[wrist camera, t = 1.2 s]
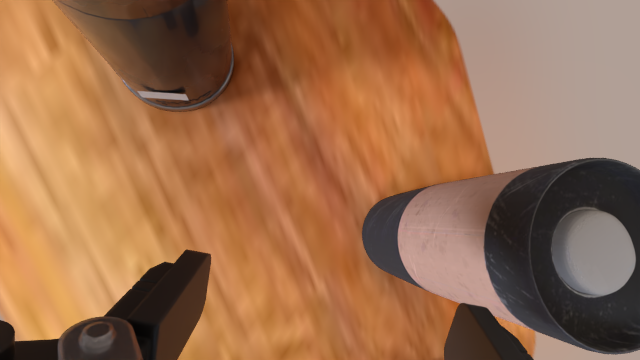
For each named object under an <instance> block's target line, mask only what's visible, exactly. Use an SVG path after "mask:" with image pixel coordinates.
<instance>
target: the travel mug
mask: <svg viewBox="0 0 640 360" xmlns="http://www.w3.org/2000/svg"><path fill="white" fill-rule="evenodd" d="M362 238H363V244H364V247H365V250H366V252H367V254H368V256H369V258H370V259H371V260H372V262H373V263H374V264H375V265H376V266H378V267H379V268H381V269H382V270H384V271H386V272H388V273H390V274H392V275H394V276H396V277H398V278H400V279H403V280H405V281H407V282H409V283H411V284H413V285H416V286H418V287H420V288H422V289H424V290H427V291H429V292H431V293H434V294H436V295H439V296H442V297H444V298H447V299H450V300H453V301H455V302H458V303H467V304H472V305H477V306H482V307H486V308H488V309H489V311H490V312H491V313H492V315H493V316H496V317H499V318H501V319H504V320H507V321H510V322H512V323H515V324H518V325H520V326H523V327H526V328H529V329H531V330H534V331H537V332H540V333H542V334H545V335H548V336H550V337H553V338H556V339H559V340H561V341H564V342H567V343H570V344H572V345H575V346H577V347H580V348H583V349H586V350H589V351H593V352H598V353H603V354H624V353H630V352H634V351H637V350H640V170H639V169H637V168H635V167H633V166H631V165H629V164H627V163H624V162H621V161H617V160H613V159H607V158H586V159H579V160H573V161H567V162H562V163H557V164H550V165H545V166H539V167H533V168H529V169H522V170H516V171H511V172H506V173H499V174H494V175H488V176H482V177H476V178H471V179H465V180H459V181H454V182H448V183H442V184H437V185H433V186H429V187H425V188H421V189H417V190H413V191H409V192H406V193H402V194H398V195H394V196H391V197H388V198H385V199H383V200H381V201H380V202H378V203H377V204H376V205H374V206H373V208H372V209H371V210H370V211H369V213H368V214H367V216H366V218H365V221H364V225H363V231H362Z"/></svg>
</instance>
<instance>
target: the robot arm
mask: <svg viewBox="0 0 640 360" xmlns="http://www.w3.org/2000/svg"><path fill="white" fill-rule="evenodd" d="M52 1H53V2H54V3H55V4H56V5H57V6H58V7H59V9H60V10H61V11H62V12H63V13H64V14H65V15H66V16H67V18H68V19H69V20H70V21H71V22H72V23H73V24H74V25H75V26H76V28H77V29H78V30H79V31H80V32H81V33H82V34H83V35H84V37H85V38H86V39H87V40H88V41H89V42H90V43H91V44H92V46H93V47H94V48H95V49H96V50H97V51H98V52H99V53H100V55H101V56H102V57H103V58H104V59H105V60H106V61H107V62H108V64H109V65H110V66H111V67H112V68H113V69H114V71H115V72H116V73H117V74H118V75H119V76H120V77H121V79H122V80H123V82H124V83H125V85H126V86H127V87H128V88H129V89H130V91H131V92H132V93H133V94H134V95H135V96H137V97H138V98H139V99H140V100H142V101H143V102H145V103H147V104H149V105H151V106H153V107H155V108H158V109H161V110H166V111H172V112H184V111H191V110H195V109H198V108H201V107H203V106H205V105H207V104H209V103H211V102H212V101H214V100H215V99H216V98H217V97H218V96H219V95H220V94H221V93H222V92H223V91H224V90H225V88H226V87H227V85H228V83H229V81H230V79H231V76H232V73H233V67H234V56H233V48H232V44H231V35H230V24H229V14H228V4H227V0H52ZM210 265H211V254H208V253H203V252H197V251H192V250H185V251H184V253H183V254H182V255H181V256H180V257H179V258H178V260H177V261H176V262H175V263H174V264H173V263H168V262H163V263H161V264H159V265H157V266H155V267H153V268H151V269H149V270H148V271H147V272H146V273H145V274H144V275H143V276H142V278H141V279H140V281H138V282H137V283H136V284H135V285H134V286H133V287H132V289H130V290H129V291H128V292H127V293H126V294H125V295H124V296H123V297H122V298H121V299H120V300H119V301H118V302H117V303H116V304H115V305H114V306H113V307H112V308H111V309H110V310H109V311H108V312H107V314H106V315H105V316H104V317H95V318H91V319H87V320H84V321H81V322H79V323H77V324H75V325H73V326H71V327H70V328H69V329H67V330H66V331H65V332H64V333H63V334H62V335H61V337H60V339H52V340H34V341H15V331H14V328H13V327H12V326H11V325H10V324H9V323H7V322H4V321H1V320H0V360H177V359H178V357H179V355H180V354H181V352H182V350H183V348H184V346H185V344H186V343H187V341H188V339H189V337H190V335H191V333H192V332H193V330H194V328H195V326H196V324H197V322H198V321H199V319H200V316H201V314H202V311H203V308H204V304H205V300H206V293H207V286H208V279H209V272H210ZM444 360H533V358H532V357H531V356H530V355H529V354H527V351H526V349H525V348H524V347H523V345H522V344H521V343H520V342H519V340H518V339H517V338H516V337H515V336H513V335H512V334H511V333H510V332H509V331H507V330H506V329H505V328H504V327H502V326H501V325H500V324H499V323H498V321H497V320H496V319H495V317H494V316H493V315H492V313H491V312H490V311H489V309H488V308H486V307H482V306H477V305H472V304H467V303H461V304H460V305H459V306H458V308H457V310H456V313H455V316H454V319H453V322H452V325H451V328H450V331H449V334H448V337H447V340H446V343H445V347H444Z"/></svg>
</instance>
